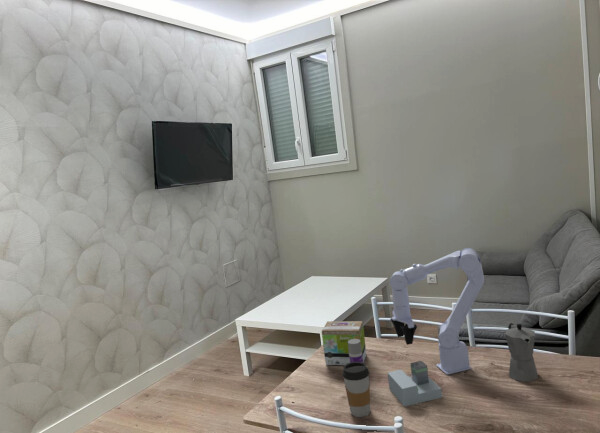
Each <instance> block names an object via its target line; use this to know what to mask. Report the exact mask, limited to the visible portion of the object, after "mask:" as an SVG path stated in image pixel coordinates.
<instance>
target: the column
mask: <svg viewBox="0 0 600 433" xmlns="http://www.w3.org/2000/svg"><path fill="white" fill-rule="evenodd" d="M410 371H411V372H410V373H411V375H412V380H413V381H414V382H415V383H416V384H417V385H421V384H426V383H429V379H428V377H429V372H428V365H427V364H426V363H425V362H424V361H423V360H419V361H414V362H410Z"/></svg>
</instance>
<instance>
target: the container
mask: <svg viewBox="0 0 600 433" xmlns="http://www.w3.org/2000/svg"><path fill="white" fill-rule="evenodd" d="M348 349H349V358H350V363H351V362H362V363H363V356H362V349H361V342H360V340H359V339H351V340H349V341H348Z"/></svg>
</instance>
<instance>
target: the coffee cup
mask: <svg viewBox="0 0 600 433" xmlns="http://www.w3.org/2000/svg"><path fill="white" fill-rule="evenodd" d="M369 376H370V370H369V368H368V366H367V364H366V363H365V362H364V363H362V362H351V363H348V364H346V365H343V369H342V377H343V381H344V388H345V392H346V398H347V403H348V406H349V410H350V414H351V415H353V417H356V418H365V417H367V416H368V415H369V414H370V412H371V409H372V407H371V387H370V377H369Z"/></svg>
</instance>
